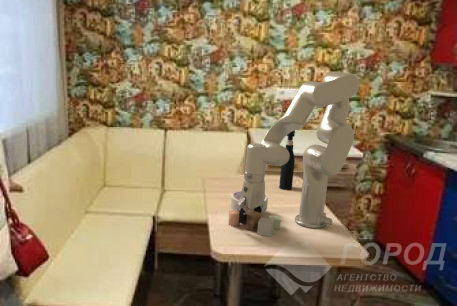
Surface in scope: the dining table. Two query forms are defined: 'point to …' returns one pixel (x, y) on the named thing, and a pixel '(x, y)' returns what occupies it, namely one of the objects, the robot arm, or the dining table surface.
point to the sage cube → (276, 221)
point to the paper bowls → (237, 197)
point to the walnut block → (252, 220)
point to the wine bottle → (288, 165)
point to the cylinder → (234, 218)
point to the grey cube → (265, 226)
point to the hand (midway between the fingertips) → (249, 220)
